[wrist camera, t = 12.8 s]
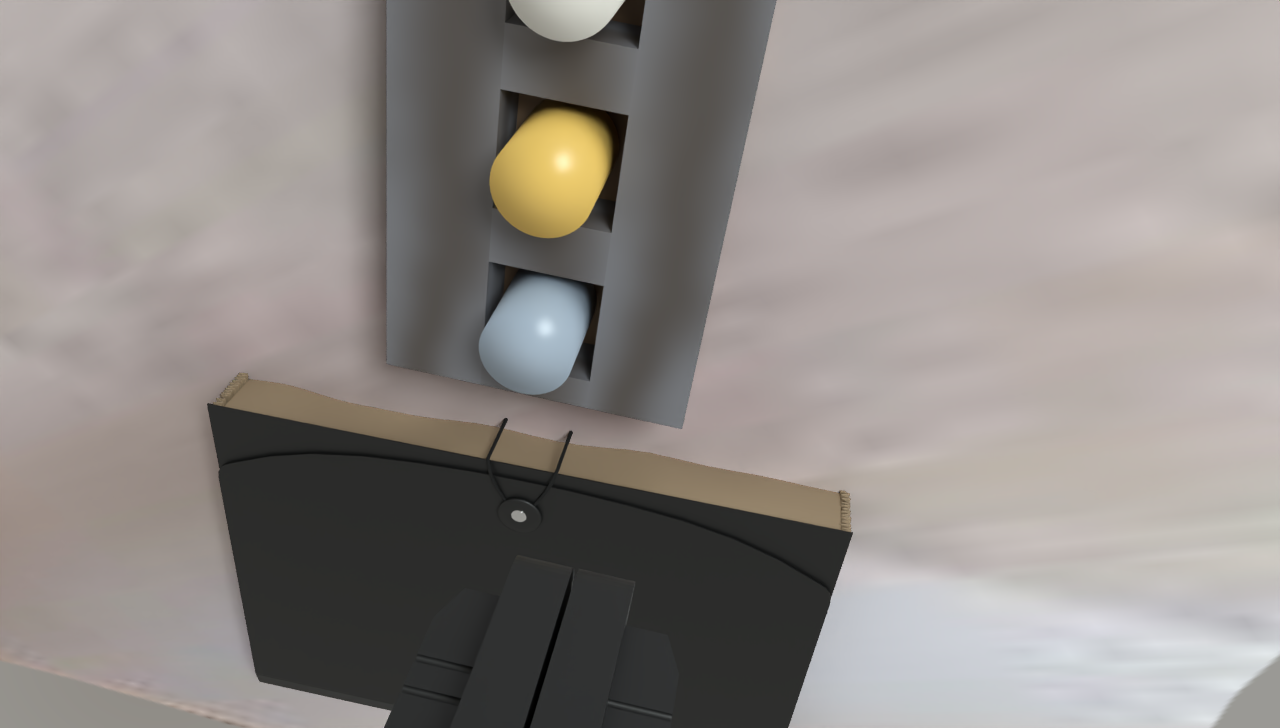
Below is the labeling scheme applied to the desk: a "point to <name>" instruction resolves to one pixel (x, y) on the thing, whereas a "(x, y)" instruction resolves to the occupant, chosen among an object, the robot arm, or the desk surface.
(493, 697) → the robot arm
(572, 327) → the slate button
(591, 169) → the amber button
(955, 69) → the desk surface
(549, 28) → the ivory button
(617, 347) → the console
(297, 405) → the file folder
